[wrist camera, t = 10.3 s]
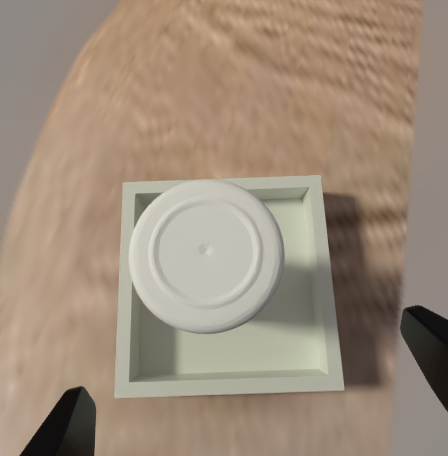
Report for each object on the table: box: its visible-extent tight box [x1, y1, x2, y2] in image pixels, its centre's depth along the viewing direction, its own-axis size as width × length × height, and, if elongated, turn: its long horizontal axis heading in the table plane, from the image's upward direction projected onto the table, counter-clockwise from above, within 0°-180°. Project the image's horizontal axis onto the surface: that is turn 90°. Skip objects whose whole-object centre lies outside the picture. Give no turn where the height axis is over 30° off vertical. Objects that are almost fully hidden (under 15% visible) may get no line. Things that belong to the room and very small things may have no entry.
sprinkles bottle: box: [129, 179, 285, 334], centre depth 16 cm, size 5×5×14 cm
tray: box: [114, 175, 344, 398], centre depth 22 cm, size 13×13×3 cm
